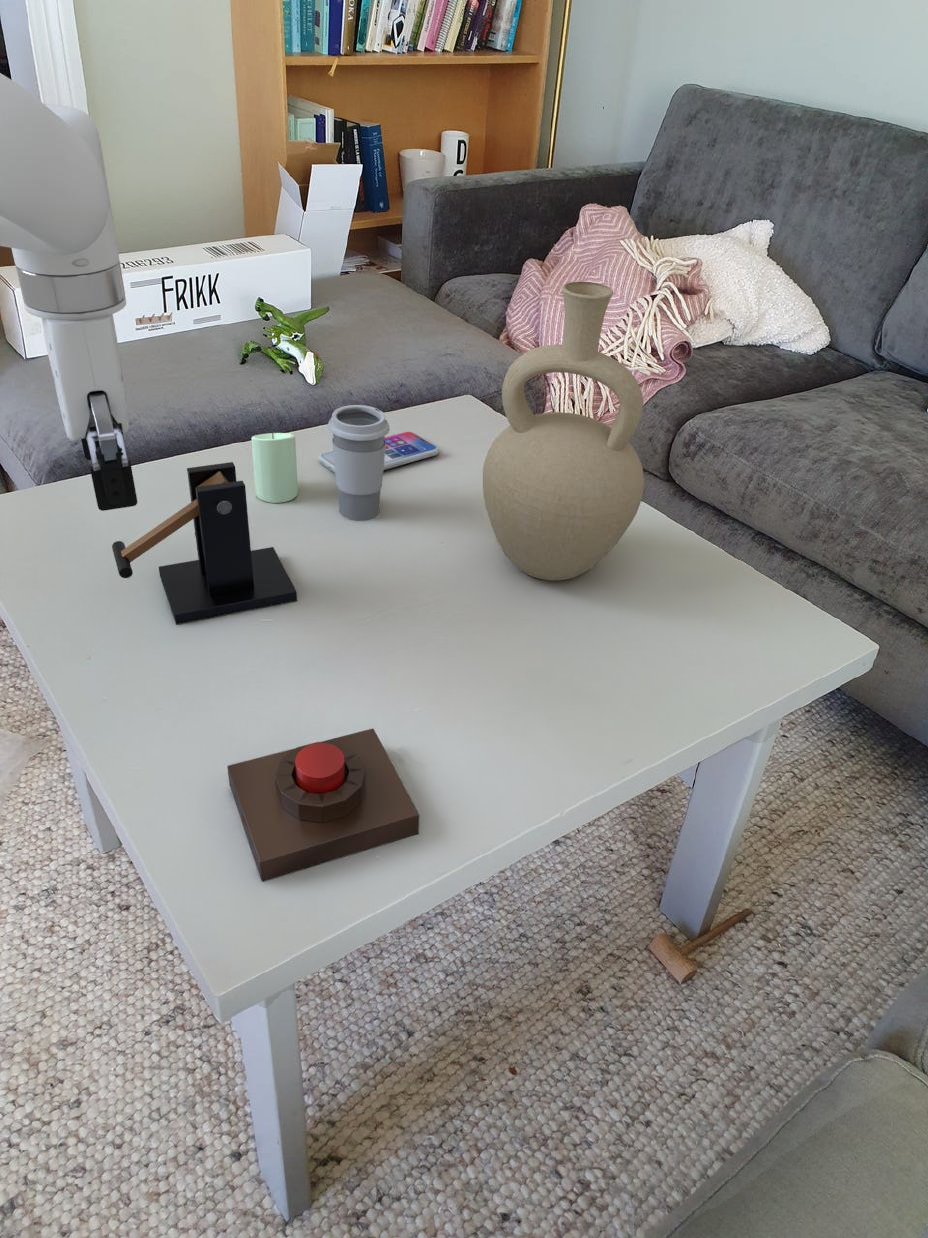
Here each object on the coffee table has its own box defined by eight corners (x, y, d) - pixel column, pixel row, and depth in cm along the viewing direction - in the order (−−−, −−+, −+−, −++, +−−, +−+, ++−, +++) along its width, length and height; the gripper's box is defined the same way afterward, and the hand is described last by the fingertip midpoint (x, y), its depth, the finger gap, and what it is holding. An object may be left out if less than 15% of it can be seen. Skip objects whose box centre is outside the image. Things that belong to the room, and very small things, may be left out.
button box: (261, 882, 65) (257, 845, 62) (229, 785, 72) (224, 748, 70) (418, 834, 69) (420, 797, 67) (373, 747, 76) (373, 711, 74)
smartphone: (314, 454, 117) (410, 429, 125) (315, 461, 118) (410, 435, 126) (345, 476, 112) (443, 448, 120) (345, 483, 113) (442, 455, 121)
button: (304, 799, 66) (303, 782, 65) (290, 766, 69) (289, 749, 68) (351, 786, 68) (351, 769, 67) (336, 754, 70) (335, 737, 69)
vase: (459, 591, 96) (480, 302, 78) (493, 516, 109) (517, 254, 91) (618, 621, 93) (676, 329, 76) (632, 540, 106) (685, 276, 89)
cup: (400, 514, 108) (402, 419, 101) (354, 531, 104) (353, 434, 97) (363, 491, 112) (363, 398, 105) (318, 506, 108) (315, 411, 101)
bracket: (176, 624, 88) (158, 508, 81) (159, 576, 95) (141, 464, 87) (297, 601, 93) (291, 488, 85) (273, 556, 99) (266, 447, 92)
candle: (254, 485, 112) (248, 422, 107) (295, 482, 113) (292, 420, 108) (257, 505, 108) (252, 441, 103) (300, 501, 109) (297, 438, 104)
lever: (129, 584, 86) (111, 568, 84) (121, 557, 89) (104, 541, 88) (242, 505, 86) (228, 487, 85) (230, 481, 90) (216, 464, 88)
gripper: (14, 257, 76) (56, 445, 87) (28, 327, 64) (76, 536, 74) (108, 252, 79) (138, 434, 89) (140, 318, 67) (171, 521, 77)
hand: (110, 480), depth 82 cm, fingers open, 9 cm apart
